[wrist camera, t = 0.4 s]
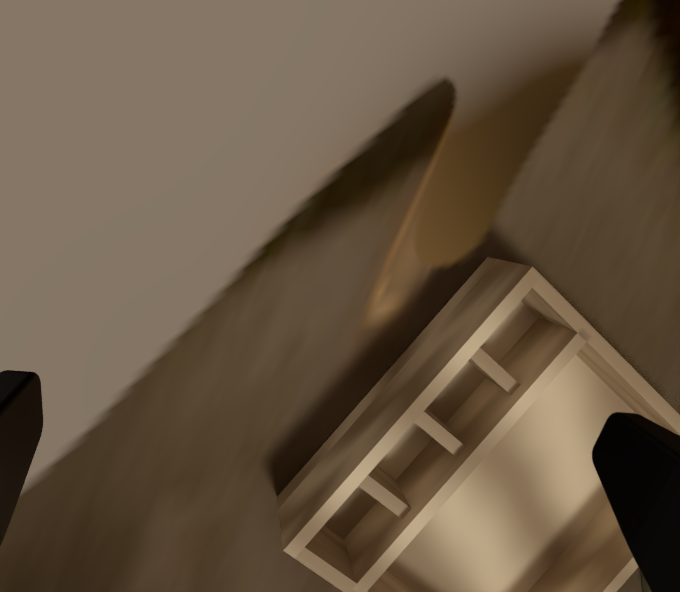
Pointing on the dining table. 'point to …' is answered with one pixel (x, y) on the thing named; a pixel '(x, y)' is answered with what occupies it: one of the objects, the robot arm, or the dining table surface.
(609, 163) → the dining table surface
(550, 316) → the tray
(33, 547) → the dining table surface
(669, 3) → the dining table surface
